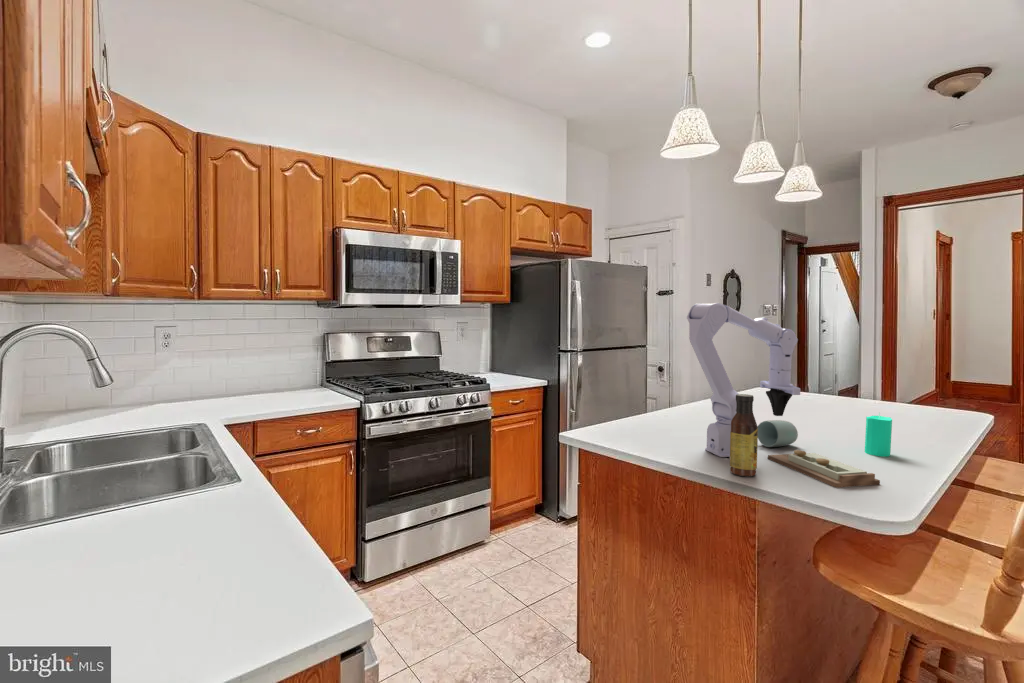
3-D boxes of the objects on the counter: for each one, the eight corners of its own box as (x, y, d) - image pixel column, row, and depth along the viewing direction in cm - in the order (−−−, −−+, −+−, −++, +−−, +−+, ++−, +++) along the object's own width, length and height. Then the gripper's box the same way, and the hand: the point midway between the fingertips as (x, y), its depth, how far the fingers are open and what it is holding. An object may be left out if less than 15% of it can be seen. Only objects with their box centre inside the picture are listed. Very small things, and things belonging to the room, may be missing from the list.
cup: (795, 416, 153) (771, 416, 149) (806, 440, 150) (782, 442, 146) (775, 425, 159) (752, 426, 155) (785, 448, 156) (762, 450, 152)
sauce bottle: (759, 478, 123) (762, 397, 122) (732, 476, 124) (735, 396, 123) (752, 470, 129) (755, 393, 128) (726, 468, 130) (729, 392, 129)
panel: (837, 480, 119) (838, 473, 119) (788, 460, 134) (788, 454, 134) (866, 478, 120) (866, 471, 120) (814, 458, 136) (814, 452, 136)
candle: (881, 451, 148) (883, 410, 147) (895, 456, 142) (897, 414, 141) (860, 450, 148) (862, 410, 148) (872, 456, 142) (874, 414, 142)
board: (836, 487, 117) (837, 472, 117) (767, 458, 139) (768, 445, 139) (879, 484, 119) (880, 469, 119) (805, 456, 142) (805, 443, 141)
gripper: (810, 372, 140) (808, 420, 141) (775, 366, 155) (773, 410, 156) (788, 372, 139) (786, 421, 140) (754, 366, 153) (752, 410, 154)
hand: (778, 415), depth 148 cm, fingers closed
